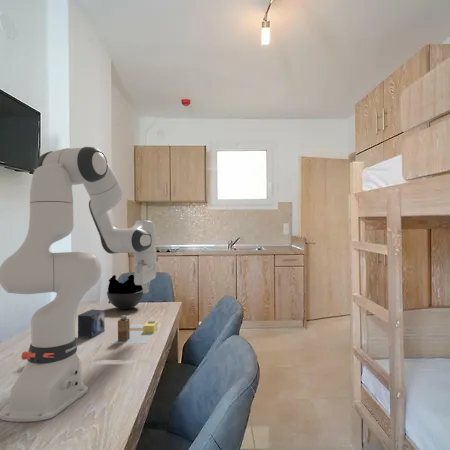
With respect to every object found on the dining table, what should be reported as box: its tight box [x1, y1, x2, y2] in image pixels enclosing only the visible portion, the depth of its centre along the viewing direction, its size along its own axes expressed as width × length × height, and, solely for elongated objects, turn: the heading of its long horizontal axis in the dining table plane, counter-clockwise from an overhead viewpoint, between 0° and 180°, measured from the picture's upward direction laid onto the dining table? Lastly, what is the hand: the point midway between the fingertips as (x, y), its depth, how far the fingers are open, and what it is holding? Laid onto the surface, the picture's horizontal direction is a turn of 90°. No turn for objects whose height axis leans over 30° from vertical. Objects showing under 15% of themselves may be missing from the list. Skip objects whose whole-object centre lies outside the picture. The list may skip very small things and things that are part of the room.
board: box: [110, 323, 162, 344], centre depth 148 cm, size 26×14×1 cm, turn 177°
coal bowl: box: [106, 274, 145, 310], centre depth 197 cm, size 20×20×19 cm
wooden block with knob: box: [117, 314, 131, 341], centre depth 140 cm, size 4×4×10 cm
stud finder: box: [143, 320, 158, 334], centre depth 152 cm, size 7×4×3 cm, turn 179°
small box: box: [77, 309, 106, 340], centre depth 147 cm, size 11×6×10 cm, turn 168°
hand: (145, 292), depth 146 cm, fingers closed
